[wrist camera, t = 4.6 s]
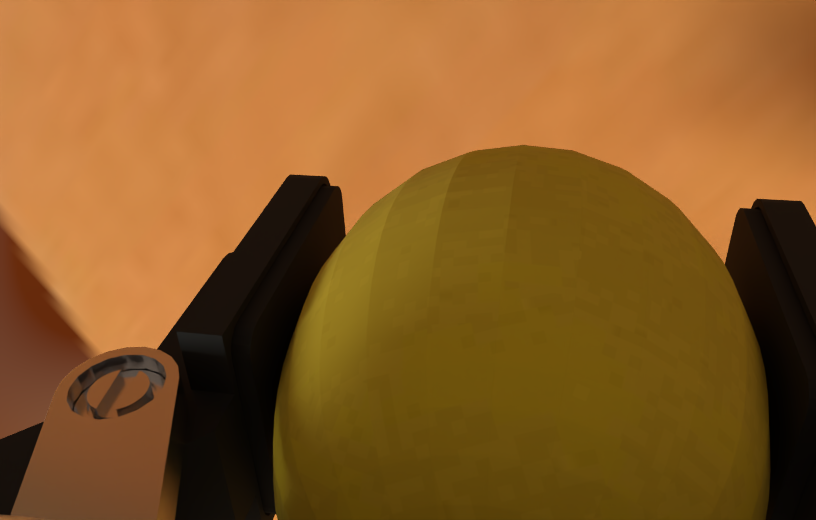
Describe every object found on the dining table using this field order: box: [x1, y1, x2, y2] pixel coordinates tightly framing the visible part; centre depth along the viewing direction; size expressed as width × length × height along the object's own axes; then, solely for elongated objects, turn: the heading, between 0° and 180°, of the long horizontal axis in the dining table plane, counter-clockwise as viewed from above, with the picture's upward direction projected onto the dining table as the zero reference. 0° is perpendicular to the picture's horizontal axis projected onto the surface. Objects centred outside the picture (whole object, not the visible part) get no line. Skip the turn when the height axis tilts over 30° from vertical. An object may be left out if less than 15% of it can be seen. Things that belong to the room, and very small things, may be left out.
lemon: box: [273, 145, 771, 520], centre depth 9 cm, size 6×6×8 cm
